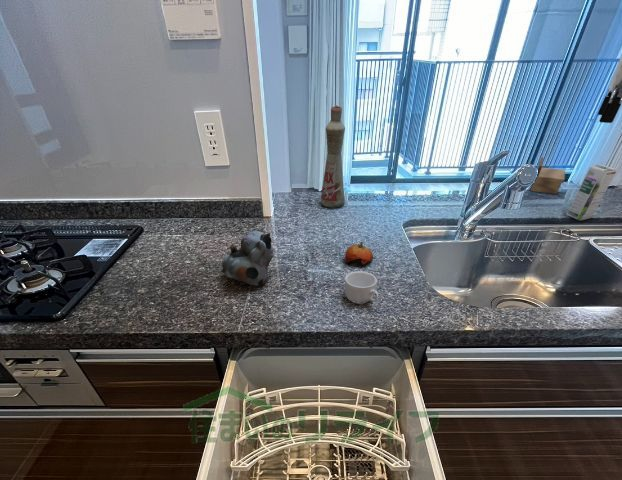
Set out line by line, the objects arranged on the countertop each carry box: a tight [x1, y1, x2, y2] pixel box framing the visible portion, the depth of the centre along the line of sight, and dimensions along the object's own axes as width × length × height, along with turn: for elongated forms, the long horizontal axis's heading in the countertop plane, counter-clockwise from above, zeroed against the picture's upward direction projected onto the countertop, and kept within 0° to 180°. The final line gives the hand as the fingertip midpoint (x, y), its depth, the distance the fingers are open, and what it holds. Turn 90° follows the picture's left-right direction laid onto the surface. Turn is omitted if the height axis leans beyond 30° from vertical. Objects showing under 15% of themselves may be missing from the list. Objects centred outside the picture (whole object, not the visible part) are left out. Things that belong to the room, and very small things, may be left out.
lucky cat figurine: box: [220, 230, 275, 287], centre depth 95 cm, size 15×12×14 cm
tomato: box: [344, 241, 374, 266], centre depth 103 cm, size 8×7×7 cm
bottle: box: [320, 104, 346, 209], centre depth 122 cm, size 9×9×28 cm
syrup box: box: [565, 164, 618, 222], centre depth 118 cm, size 6×6×14 cm
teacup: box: [344, 270, 380, 305], centre depth 89 cm, size 10×8×5 cm
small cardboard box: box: [530, 157, 566, 195], centre depth 140 cm, size 10×12×8 cm
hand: (604, 118), depth 102 cm, fingers open, 9 cm apart
